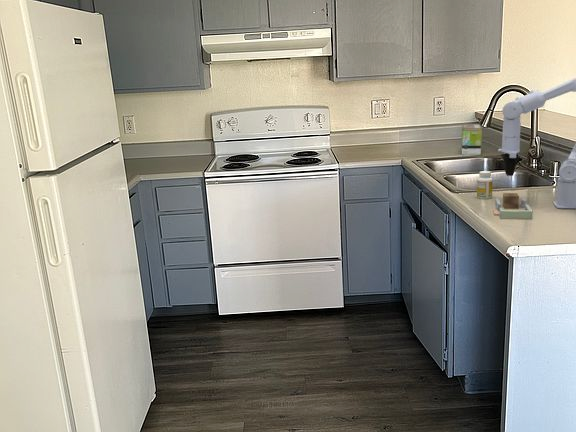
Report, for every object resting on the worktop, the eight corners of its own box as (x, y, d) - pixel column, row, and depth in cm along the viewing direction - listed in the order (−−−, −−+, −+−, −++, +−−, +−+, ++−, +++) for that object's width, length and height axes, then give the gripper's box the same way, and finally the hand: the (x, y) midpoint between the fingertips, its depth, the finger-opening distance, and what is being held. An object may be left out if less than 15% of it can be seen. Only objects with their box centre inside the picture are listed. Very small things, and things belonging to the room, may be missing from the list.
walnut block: (516, 205, 196) (517, 193, 195) (518, 209, 192) (518, 196, 190) (502, 205, 197) (503, 193, 196) (504, 208, 193) (504, 196, 192)
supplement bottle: (488, 195, 212) (489, 170, 209) (494, 198, 207) (495, 172, 204) (474, 196, 212) (475, 170, 209) (479, 199, 207) (480, 173, 204)
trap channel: (528, 205, 195) (528, 198, 195) (537, 219, 179) (537, 211, 178) (490, 204, 199) (490, 197, 198) (495, 218, 182) (495, 211, 181)
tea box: (481, 155, 297) (482, 127, 293) (461, 155, 299) (462, 127, 296) (480, 150, 310) (481, 123, 307) (461, 150, 313) (461, 124, 309)
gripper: (496, 133, 202) (495, 171, 206) (501, 139, 189) (499, 179, 192) (517, 133, 201) (515, 170, 204) (523, 139, 187) (521, 179, 191)
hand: (509, 174), depth 198 cm, fingers closed
